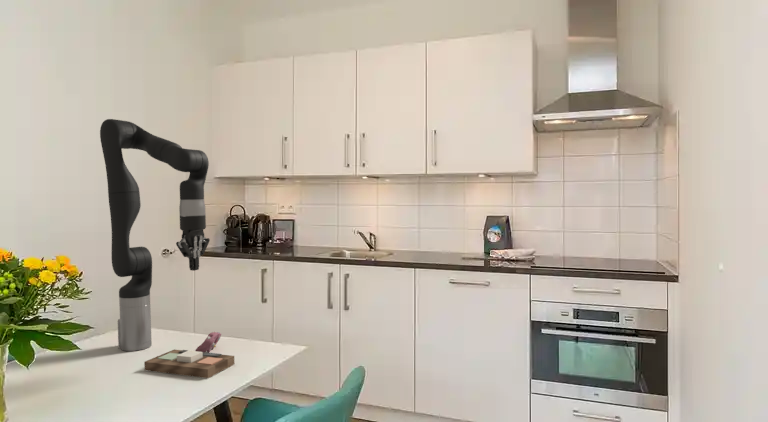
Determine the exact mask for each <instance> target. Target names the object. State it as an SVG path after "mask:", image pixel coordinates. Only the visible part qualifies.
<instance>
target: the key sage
mask: <svg viewBox="0 0 768 422" xmlns="http://www.w3.org/2000/svg"><path fill="white" fill-rule="evenodd" d="M177 355H179V354H176V353H168V354H166V355H163V356H161V357H159V358H158V359H163V360H174V359H176V358H177Z"/></svg>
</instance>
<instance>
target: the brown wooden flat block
mask: <svg viewBox="0 0 768 422" xmlns="http://www.w3.org/2000/svg"><path fill="white" fill-rule="evenodd" d="M186 351H190V350H189V349H176V348H175V349H172V350H169V351H167V352H164V353H162V354H160V355H157V356H154V357H153V358H150V359H148V360H145V361H143V362H144V364H143V365H144V371H148V372H156V373H163V374H169V375H170V374H171V375H178V376H185V377H195V378H200V379H209V378H213V376H216V375H217V374H219V373H221V372H222V371H225V370H227V369H228V368H230V367H233V366H234V365H235V355H228V354H222V353H216V352H207V351H206V352H203V358H200V359H198V360H196V361H194V362H192V363H189V362H180V361H177V358H176V359H174V360H163V359H158V358H159V357H161V356H163V355H166V354H168V353H176V354H182V353H184V352H186ZM207 357H213V358H222V359H223V360H221V361H219V362H217V363H215V364H213V365H206V364H197V362H199V361H201V360H203V359H205V358H207Z"/></svg>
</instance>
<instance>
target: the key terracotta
mask: <svg viewBox="0 0 768 422" xmlns="http://www.w3.org/2000/svg"><path fill="white" fill-rule="evenodd" d="M221 360H223V359H222V358H213V357H207V358H205V359H203V360H201V361H199V362H197V364H206V365H213V364H215V363H217V362H219V361H221Z"/></svg>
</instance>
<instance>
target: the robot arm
mask: <svg viewBox="0 0 768 422" xmlns="http://www.w3.org/2000/svg"><path fill="white" fill-rule="evenodd" d="M99 138H100V143H101V149H102V155H103V159H104V164H105V171H106V179H107V180H106V181H107V182H106V183H107V196H108V204H109V205H108V207H109V215H110V227H111V266H112V270H113V272H114V274H115V275H116V276H117V277H120V278H127V277H131V278H130V280H129V281H128V282H127V283H126V284H125V285H123V286H121V287H120V288H119V290H118V300H119V301H118V302H119V319H117V337H118V338H117V339H118V340H117V342H118V349H121V351H124V352H134V351H140V350H145V349H148V348H150V347H151V346H152V315H151V312H152V311H151V288H152V284H153V257H152V253H151V252H150V250H149V249H148V248H147V247H146V246H134V247H132V246H131V247H130V236H131V235H130V234H131V230H132V227H133V225H134V223H135V221H136V220H137V217H138V215H139V213H140V210H141V206H142V205H141V204H142V203H141V196H140V195H141V194H140V187H139V185H138V182H137V181H136V179H135V178H134V176H133V175H132V173H131V171H130V170H129V168H128V167H127V165H126V163H125V161H124V156H123V150H126V149H127V150H129V149H133V150H140V151H144V152H146V154H147V155H149V156H150V157H151V158H153V159H155V160H157V161H159V162H161V163H165V164H167V165H168V166H169V167H171V168H172V169H174V170H176V171H179V172H182V173H189V176H188V178H187V179H185V180H183V181H181V182H180V183H179V230H181V231H182V234H181V239H180V241H177V242H176V243H175V244H176V246H177V248H178V250H179V251H180V253H181V255H182V256H183V257H184V258H188V265H189V267H188V268H189V270H190V271H199V268H200V257H201V256H203V255H204V254H205V253H206V250H207V247H208V245H209V243H210V238H207V237H206V236H205V232H204V230H206V228H207V223H206V221H207V220H206V218H207V217H206V204H205V188H204V187H205V183H206V179H207V175H208V171H209V166H210V165H209V164H210V163H209V158H208V156H207V154H206V153H205V152H204V151H203V150H200V149H192V148H191V149H188V148H183V147H182V146H181V145H180V144H178V143H176V142H174V141H172V140H171V141H170V140H168V139H165V138H162V137H160V136H157V135H154V134H152V133H150V132H148V131H147V130H145V129H143V127H140V126H139V125H137V124H136V123H134V122H132V121H128V120H122V119H121V120H120V119H113V118H108V119H105V120H104V121H103V122H102V123H101V125H100V130H99ZM122 149H123V150H122Z"/></svg>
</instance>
